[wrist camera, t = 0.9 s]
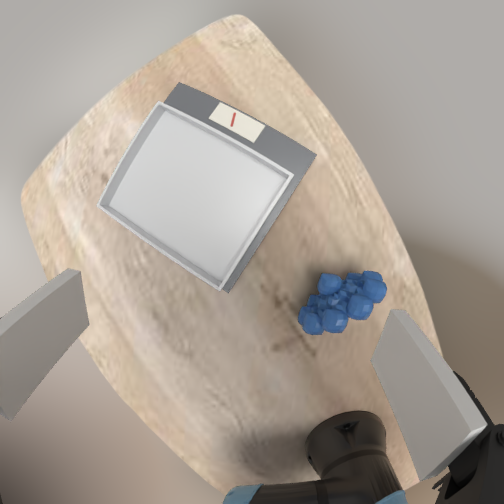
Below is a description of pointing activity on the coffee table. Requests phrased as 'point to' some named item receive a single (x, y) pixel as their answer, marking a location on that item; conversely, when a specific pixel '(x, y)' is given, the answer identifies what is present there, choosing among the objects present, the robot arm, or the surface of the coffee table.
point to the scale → (204, 183)
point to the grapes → (341, 301)
